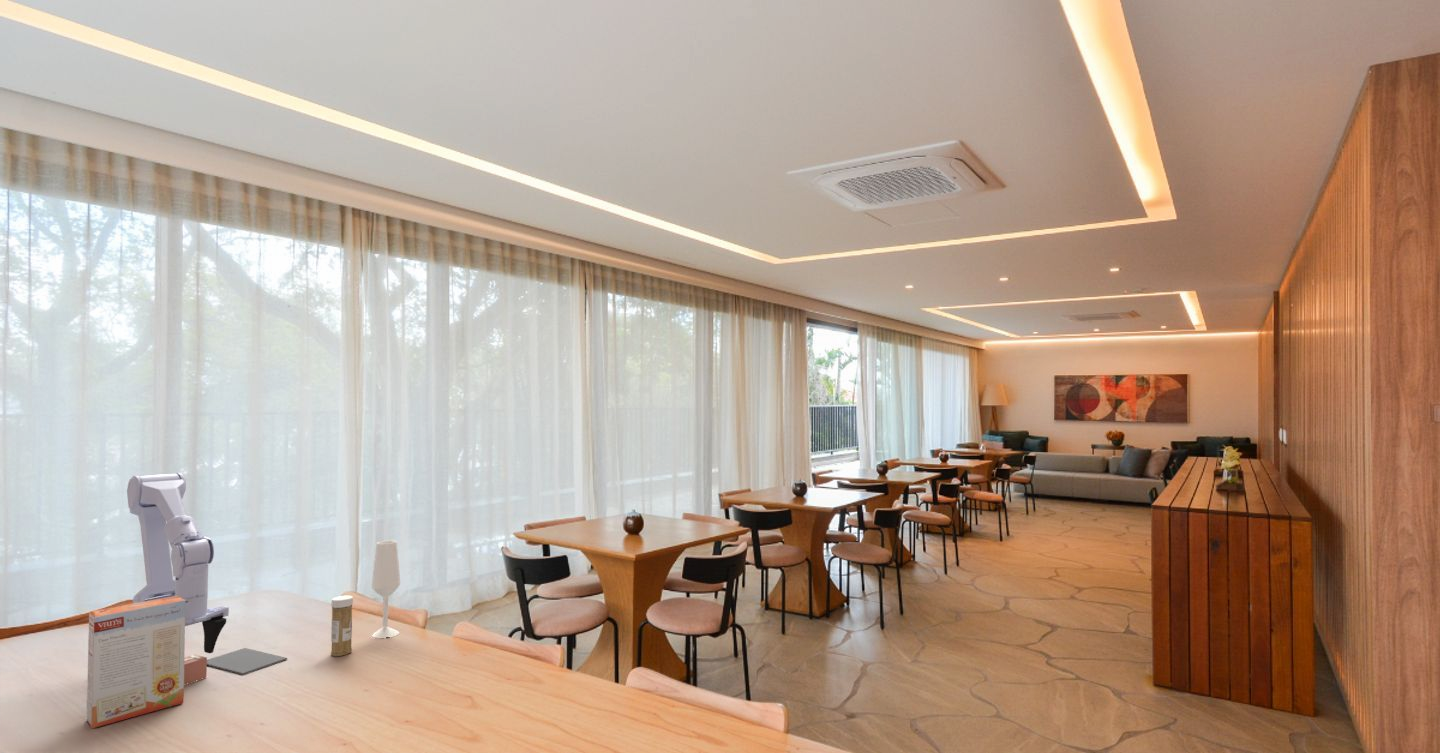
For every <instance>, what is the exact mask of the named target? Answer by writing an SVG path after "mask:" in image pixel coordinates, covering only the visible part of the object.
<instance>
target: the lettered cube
mask: <svg viewBox="0 0 1440 753" xmlns="http://www.w3.org/2000/svg"><path fill="white" fill-rule="evenodd" d="M184 657H185V658H184V684H187V683H190V684H192V683H191V682H193V683H195V682H194V681H196V680H199V681H201V680H200V679H202V678H205V677H206V678H207V660H208V657H205V656H202V655H197V654H192V655H189V656H184ZM206 678H205V679H206ZM202 680H203V679H202ZM196 682H197V681H196ZM187 685H188V684H187Z"/></svg>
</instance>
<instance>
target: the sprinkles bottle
mask: <svg viewBox="0 0 1440 753" xmlns="http://www.w3.org/2000/svg"><path fill="white" fill-rule="evenodd" d="M353 604H354V597H353V596H352V595H340V596H339V595H338V596H335V597H333V598H331V613H332V614H331V638H330V640H331V652H330V655H331V656H334V657H343V655H344V656H345V655H349V654H350V653H352V651H353V649H352V648H353V647H352V638H353Z"/></svg>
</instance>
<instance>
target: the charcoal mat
mask: <svg viewBox="0 0 1440 753" xmlns="http://www.w3.org/2000/svg"><path fill="white" fill-rule="evenodd" d="M286 659H287V660H288V657H285V656H280V655H276V654H272V653H270V652H269V653H268V652H263V651H259V650H255V649H251V648H247V647H244V648H240V649H237V650H234V651H231V652H228V653H223V654H221V655H218V656H214V657H212V658H209V659H208V658H207V665H210V666H209V667H211V666H213V667H212V668H214V667H218V668H221V669H220V670H222V669H225V670H224V671H226V670H228V671H227V672H230V671H231V673H233V672H235V673H234V674H237V673H238V675H242V676H243V675H246V674H250V673H252V672H255V670H256V671H258V669H259V670H261V669H265V668H267V667H270V666H272V664H273V665H275V663H276V664H279V663H281V661H282V662H284V660H285V661H286ZM278 662H279V663H278ZM269 665H270V666H269ZM266 666H267V667H266ZM218 668H217V669H218ZM249 672H250V673H249Z"/></svg>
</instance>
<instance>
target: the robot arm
mask: <svg viewBox="0 0 1440 753" xmlns="http://www.w3.org/2000/svg"><path fill="white" fill-rule="evenodd" d="M186 489H187V482H186V478H185V476H184V475H183V473H181V472H176V473H165V474H164V473H163V474H150V475H133V476H132V477H130V479H129V480H128V483H127V489H126V496H127V505H128V509H129V513H130V514H132V515H135V516H138V517H137V518H138V522H139V526H140V534H141V542H142V552H143V561H144V571H145V580H146V585H145V586H144V587H143V588H142V589H140V590H139V591H138V592H136V594H135V595H134V597H133V598H132V604H134V603H140V602H145V601H151V600H157V599H162V598H168V597H173V596H179V597H181V598H182V599H184V600H185V627H188V626H191V625H195V624H200V623H201V624H202V627H203V628H202V629H203V651H204V653H206V654H212V653H214V650H215V647H216V643H217V641H218V638H219V636H220V633H221V632H222V630H223V628H224V627H225V625H226V624H227V618H225V617H229V608H230V607H228V606H219V607H214V608H209V609H208V592H209V590H208V588H209V584H208V583H209V565H210V564H212V562H213V560H214V555H215V549H214V548H215V547H214V542H213V541H212V539H211V538H210V537H207V535H203V534H202V532H201V530H200V528H199V526H198V523H197V522H196V520H195V518H194V517H193V516H190V515H187V513H186V509H185V506H184V504H183V498H184V495H185V493H186ZM170 548H171V549H170ZM170 550H171V551H170ZM174 577H175V579H174ZM185 657H186V656H184V658H185Z"/></svg>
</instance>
